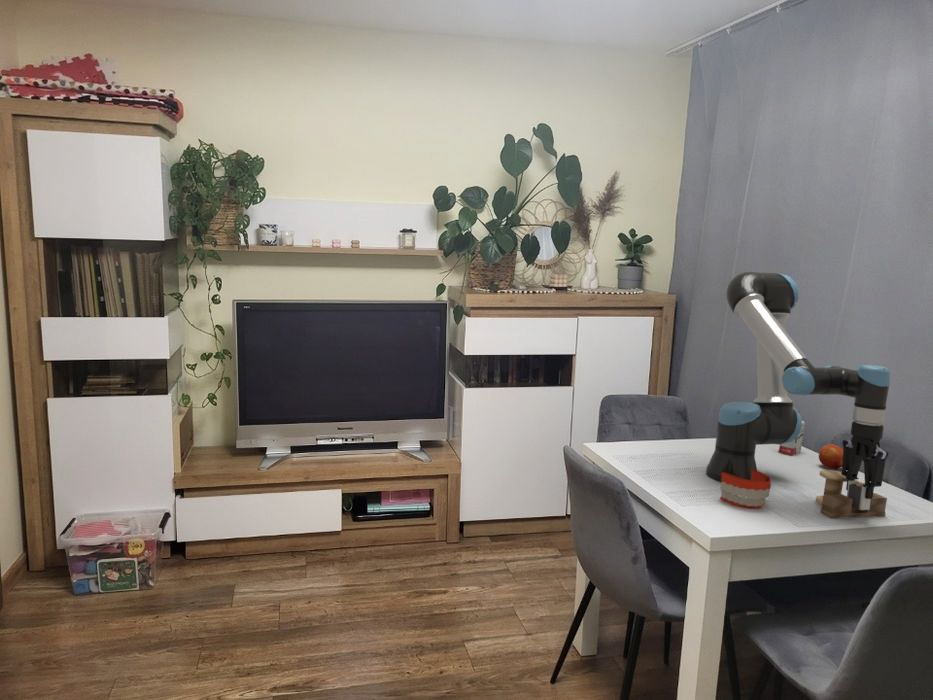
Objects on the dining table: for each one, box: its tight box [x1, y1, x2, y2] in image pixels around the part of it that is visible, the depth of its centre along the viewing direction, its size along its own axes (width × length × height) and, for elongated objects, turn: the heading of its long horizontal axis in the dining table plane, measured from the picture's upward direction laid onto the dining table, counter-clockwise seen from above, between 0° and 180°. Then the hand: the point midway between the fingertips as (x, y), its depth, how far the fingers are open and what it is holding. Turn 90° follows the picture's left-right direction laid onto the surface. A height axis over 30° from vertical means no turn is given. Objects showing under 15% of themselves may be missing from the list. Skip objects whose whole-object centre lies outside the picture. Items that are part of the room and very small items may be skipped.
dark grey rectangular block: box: [848, 481, 872, 510], centre depth 194 cm, size 4×4×7 cm
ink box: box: [778, 420, 806, 456], centre depth 256 cm, size 8×5×12 cm, turn 134°
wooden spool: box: [815, 469, 847, 506], centre depth 203 cm, size 8×8×9 cm
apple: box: [818, 443, 844, 470], centre depth 240 cm, size 8×8×8 cm
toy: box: [719, 469, 772, 509], centre depth 199 cm, size 12×10×8 cm
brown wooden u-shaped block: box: [819, 492, 888, 519], centre depth 196 cm, size 18×4×5 cm, turn 105°
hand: (857, 506), depth 195 cm, fingers closed on dark grey rectangular block, 4 cm apart
